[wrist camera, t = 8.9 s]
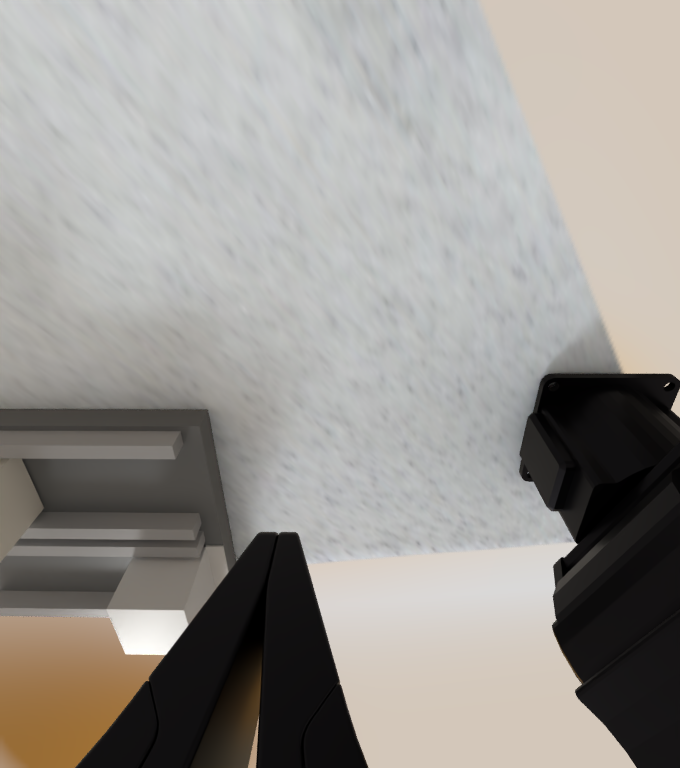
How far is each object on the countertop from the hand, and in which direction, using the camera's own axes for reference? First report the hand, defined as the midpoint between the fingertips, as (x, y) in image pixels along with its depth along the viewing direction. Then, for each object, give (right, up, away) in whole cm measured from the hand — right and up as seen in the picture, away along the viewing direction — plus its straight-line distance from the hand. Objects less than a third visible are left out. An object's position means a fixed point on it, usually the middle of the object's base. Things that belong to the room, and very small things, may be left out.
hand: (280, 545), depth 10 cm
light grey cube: (-9, -8, +18) cm, 21 cm away
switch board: (-14, -4, +18) cm, 22 cm away
